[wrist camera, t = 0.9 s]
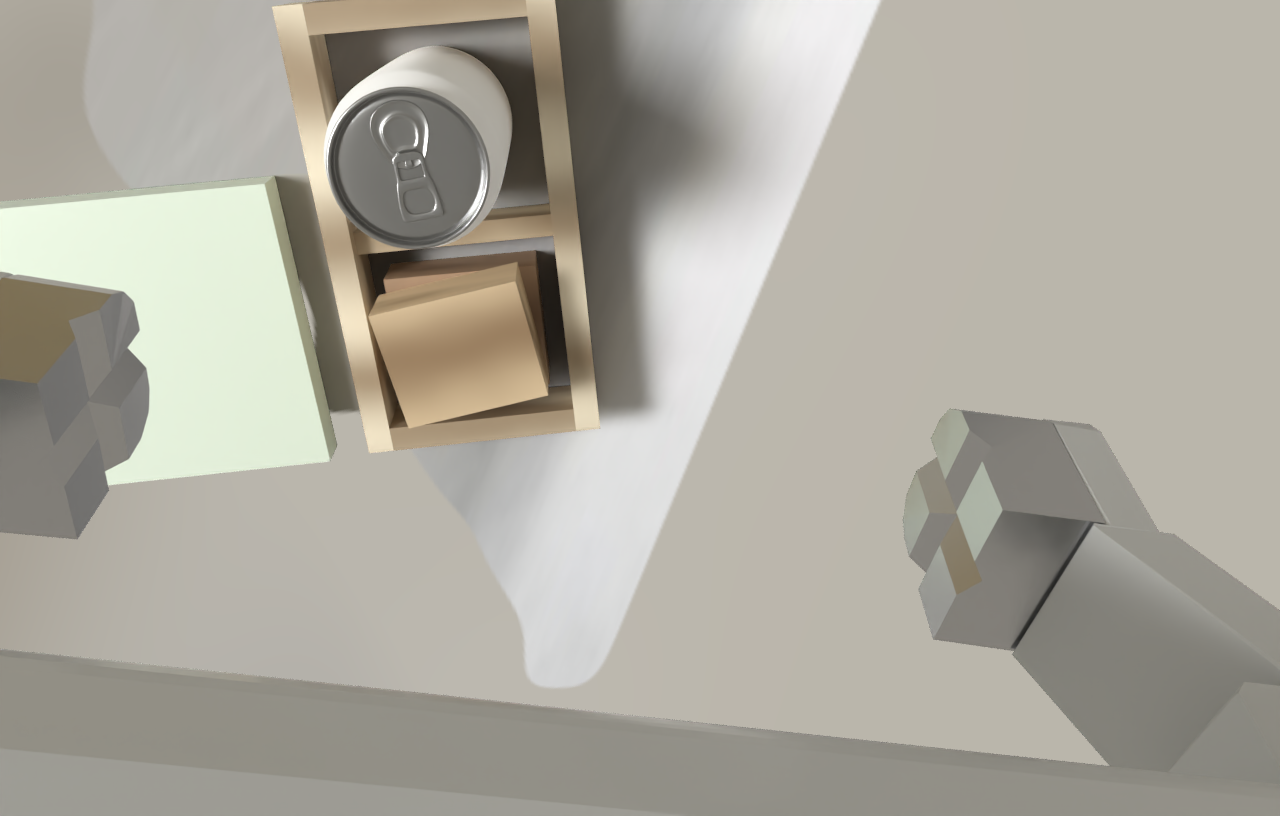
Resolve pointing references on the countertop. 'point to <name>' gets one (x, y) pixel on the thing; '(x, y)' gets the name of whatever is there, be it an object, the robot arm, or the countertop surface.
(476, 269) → the offcut lower
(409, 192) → the can
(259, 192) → the board
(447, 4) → the rack
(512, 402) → the offcut upper
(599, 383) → the countertop surface
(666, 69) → the countertop surface
